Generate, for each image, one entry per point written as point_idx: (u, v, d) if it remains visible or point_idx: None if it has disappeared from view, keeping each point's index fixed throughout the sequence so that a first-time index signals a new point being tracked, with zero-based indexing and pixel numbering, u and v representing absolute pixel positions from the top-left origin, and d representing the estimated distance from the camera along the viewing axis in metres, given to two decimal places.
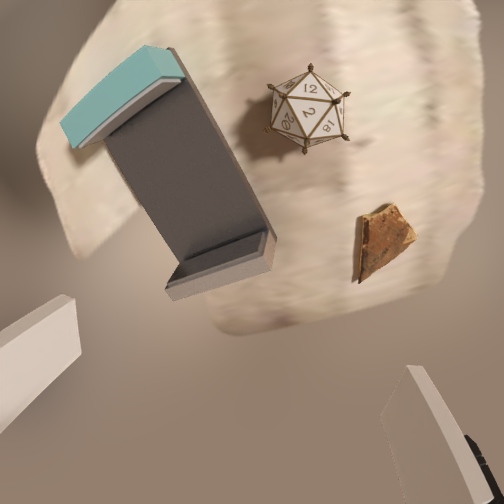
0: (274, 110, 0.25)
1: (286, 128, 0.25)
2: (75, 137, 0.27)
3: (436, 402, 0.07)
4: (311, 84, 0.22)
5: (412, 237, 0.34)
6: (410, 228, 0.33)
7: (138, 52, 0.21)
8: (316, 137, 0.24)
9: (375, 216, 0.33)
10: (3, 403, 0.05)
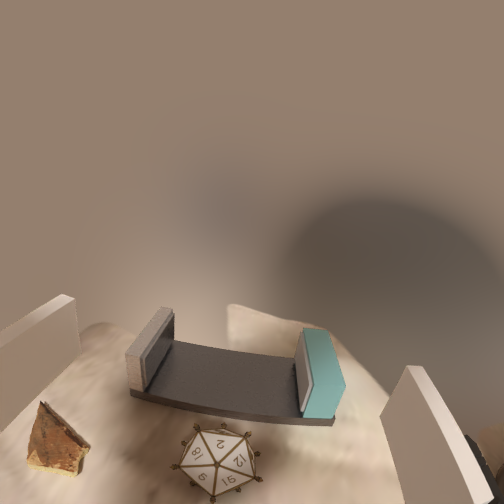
0: None
1: (216, 430, 0.24)
2: (310, 332, 0.43)
3: (436, 402, 0.07)
4: (242, 465, 0.21)
5: (32, 460, 0.17)
6: (41, 464, 0.17)
7: (342, 381, 0.32)
8: (194, 439, 0.22)
9: (79, 453, 0.21)
10: (3, 403, 0.05)
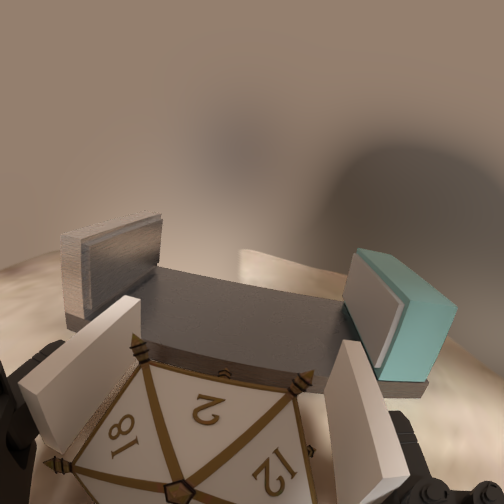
0: None
1: None
2: (368, 252, 0.28)
3: (364, 373, 0.08)
4: (285, 490, 0.05)
5: None
6: None
7: (448, 301, 0.16)
8: (125, 388, 0.07)
9: None
10: (78, 409, 0.07)
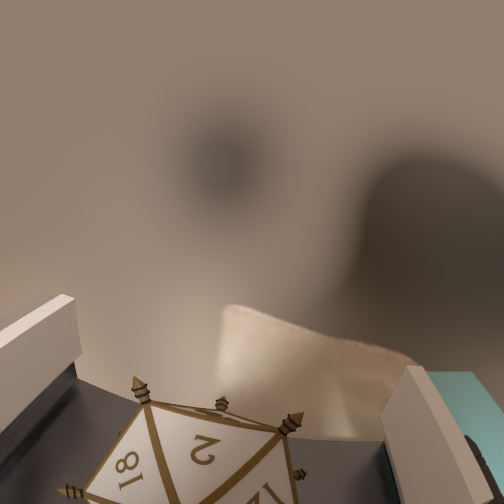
0: None
1: (200, 410, 0.09)
2: (444, 383, 0.12)
3: (436, 402, 0.07)
4: None
5: None
6: None
7: None
8: (129, 426, 0.07)
9: None
10: (3, 403, 0.05)
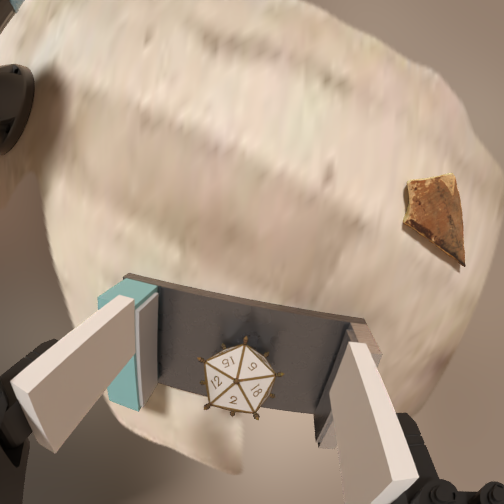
0: None
1: (238, 411, 0.26)
2: (130, 402, 0.28)
3: (371, 376, 0.08)
4: (213, 376, 0.25)
5: (451, 180, 0.25)
6: (441, 177, 0.25)
7: (100, 306, 0.25)
8: (259, 404, 0.25)
9: (410, 209, 0.26)
10: (71, 408, 0.07)
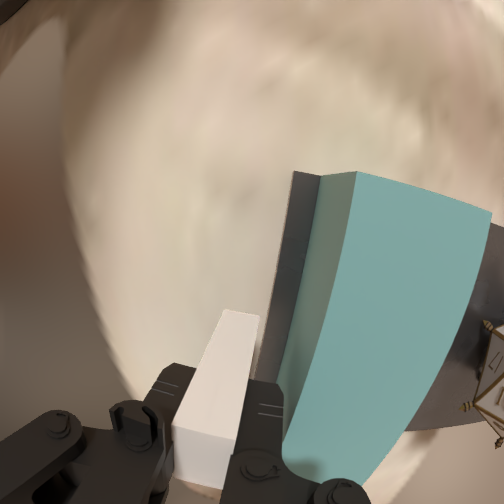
0: (501, 430, 0.08)
1: None
2: None
3: (244, 342, 0.10)
4: None
5: None
6: None
7: (360, 216, 0.06)
8: None
9: None
10: None
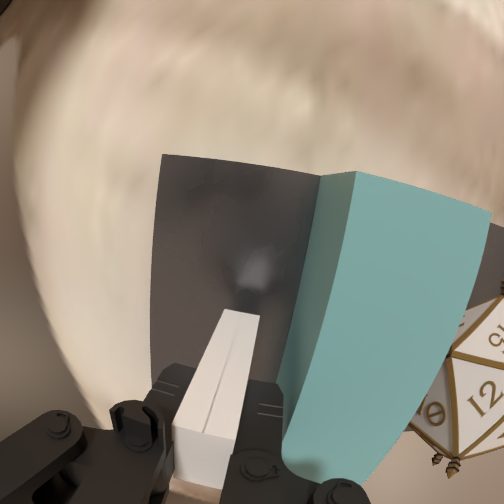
0: (433, 445, 0.09)
1: None
2: None
3: (244, 342, 0.10)
4: (479, 385, 0.07)
5: None
6: None
7: (359, 215, 0.06)
8: None
9: None
10: None
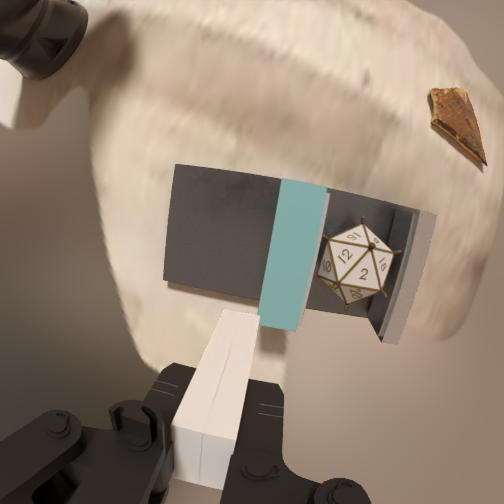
0: (337, 292, 0.28)
1: (359, 297, 0.26)
2: (288, 319, 0.28)
3: (244, 342, 0.10)
4: (341, 251, 0.26)
5: (463, 93, 0.25)
6: (455, 89, 0.25)
7: (282, 189, 0.25)
8: (384, 281, 0.25)
9: (435, 110, 0.27)
10: None
